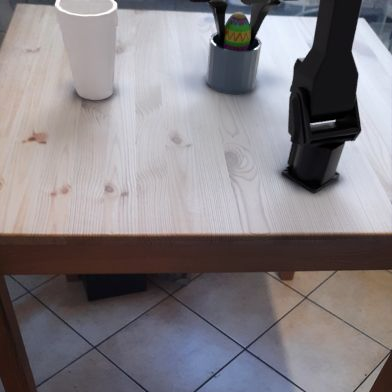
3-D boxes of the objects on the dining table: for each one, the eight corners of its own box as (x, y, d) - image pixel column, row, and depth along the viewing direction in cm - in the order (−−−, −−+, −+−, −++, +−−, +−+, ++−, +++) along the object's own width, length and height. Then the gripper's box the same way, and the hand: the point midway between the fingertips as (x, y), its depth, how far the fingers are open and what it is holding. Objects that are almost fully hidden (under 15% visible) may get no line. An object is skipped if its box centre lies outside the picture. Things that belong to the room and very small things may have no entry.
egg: (215, 49, 86) (218, 10, 81) (235, 43, 88) (240, 4, 83) (233, 59, 84) (238, 20, 79) (254, 53, 86) (260, 14, 81)
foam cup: (70, 106, 81) (57, 17, 71) (64, 80, 86) (51, -7, 76) (126, 102, 83) (122, 15, 73) (117, 77, 88) (112, -8, 78)
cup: (264, 85, 90) (272, 43, 85) (231, 99, 86) (237, 56, 81) (230, 67, 94) (234, 26, 88) (196, 79, 90) (199, 37, 84)
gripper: (202, -56, 66) (194, 67, 78) (327, -55, 70) (301, 62, 82) (183, -78, 72) (179, 38, 85) (299, -76, 76) (279, 35, 88)
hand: (235, 44), depth 85 cm, fingers closed on egg, 5 cm apart
